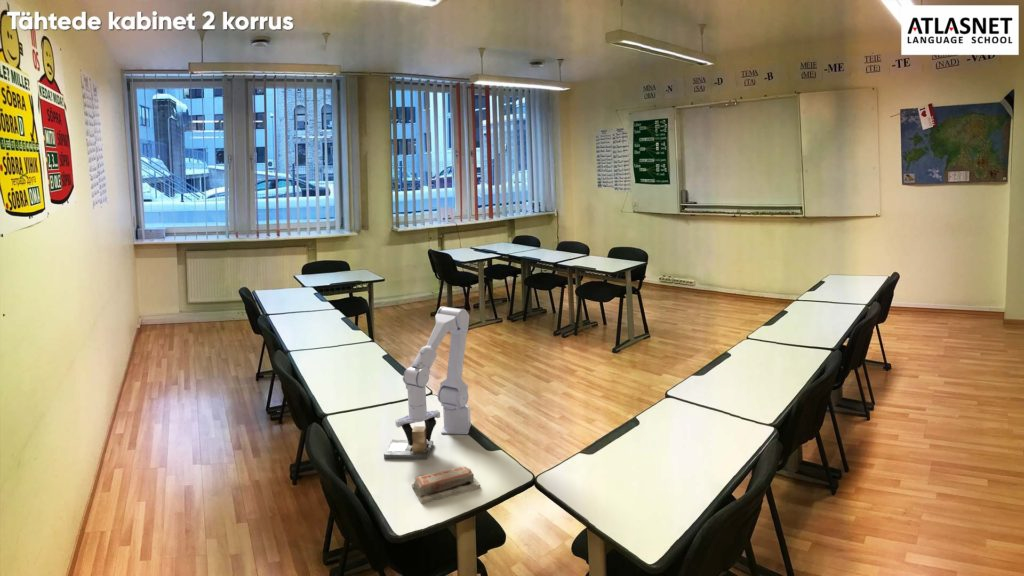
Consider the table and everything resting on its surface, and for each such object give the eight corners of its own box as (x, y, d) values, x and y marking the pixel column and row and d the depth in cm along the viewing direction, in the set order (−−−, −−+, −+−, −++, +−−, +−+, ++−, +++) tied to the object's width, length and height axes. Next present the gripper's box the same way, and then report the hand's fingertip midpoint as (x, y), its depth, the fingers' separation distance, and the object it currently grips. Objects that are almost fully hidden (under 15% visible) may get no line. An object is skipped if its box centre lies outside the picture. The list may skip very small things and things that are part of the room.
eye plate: (433, 444, 200) (433, 440, 199) (427, 459, 190) (426, 455, 189) (392, 443, 201) (392, 439, 200) (384, 458, 191) (383, 454, 191)
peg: (427, 446, 197) (426, 426, 195) (424, 452, 193) (423, 432, 191) (415, 445, 197) (414, 426, 195) (412, 451, 193) (411, 431, 191)
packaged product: (420, 489, 165) (410, 473, 173) (421, 505, 166) (411, 488, 174) (480, 474, 172) (468, 459, 181) (481, 489, 173) (468, 473, 182)
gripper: (433, 394, 198) (435, 432, 201) (391, 403, 191) (394, 442, 194) (441, 401, 192) (443, 440, 195) (398, 411, 185) (401, 451, 188)
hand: (419, 442), depth 194 cm, fingers closed on peg, 5 cm apart
